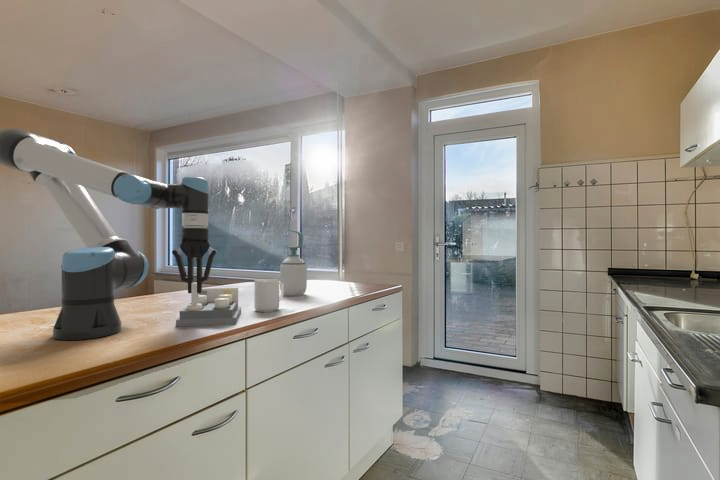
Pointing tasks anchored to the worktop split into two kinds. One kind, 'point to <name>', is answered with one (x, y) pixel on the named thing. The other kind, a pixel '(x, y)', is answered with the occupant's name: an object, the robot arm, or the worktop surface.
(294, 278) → the soap bottle
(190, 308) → the button front left
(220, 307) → the button front right
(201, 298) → the button back left
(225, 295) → the button back right
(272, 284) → the mug
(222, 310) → the button pad
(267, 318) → the worktop surface
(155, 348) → the worktop surface
